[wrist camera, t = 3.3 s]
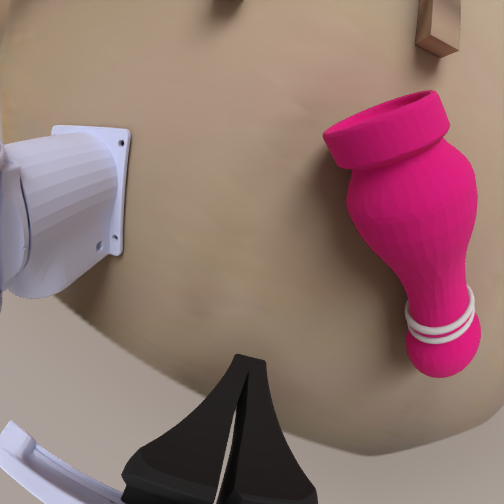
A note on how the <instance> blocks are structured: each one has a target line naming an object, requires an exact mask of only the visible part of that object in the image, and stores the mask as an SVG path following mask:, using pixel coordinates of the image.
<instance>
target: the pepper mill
mask: <svg viewBox="0 0 504 504" xmlns="http://www.w3.org/2000/svg"><path fill="white" fill-rule="evenodd" d="M449 127H450V123H449V120H448V118H447V115H446V112H445V110H444V107H443V105H442V102H441V100H440V98H439V95H438V94H437V93H436V91H432V90H429V91H422V92H417V93H413V94H409V95H406V96H402V97H399V98H396V99H393V100H390V101H387V102H384V103H382V104H379V105H376V106H374V107H371V108H369V109H367V110H364V111H362V112H359V113H357V114H355V115H353V116H351V117H349V118H347V119H345V120H343V121H341V122H339V123H337V124H335V125H333V126H332V127H330V128H329V129H327V130H326V131H325V132H324V133H323V139H324V141H325V143H326V144H327V146H328V148H329V150H330V152H331V154H332V156H333V158H334V160H335V162H336V164H337V166H339V167H341V168H344V169H352V176H351V180H350V183H349V187H348V191H347V197H346V205H347V210H348V213H349V215H350V217H351V219H352V221H353V223H354V225H355V227H356V229H357V231H358V232H359V234H360V235H361V237H362V238H363V239H364V240H365V242H366V243H367V244H368V246H369V247H370V248H371V249H372V250H373V251H374V252H375V253H376V254H377V255H378V256H379V257H380V258H381V259H382V260H383V261H384V262H385V263H386V264H387V265H388V266H389V267H390V268H391V269H392V270H393V271H394V272H395V273H396V275H397V276H398V278H399V279H400V281H401V282H402V284H403V286H404V289H405V291H406V294H407V296H408V300H407V302H406V306H405V317H406V320H407V325H408V330H407V335H406V348H407V353H408V356H409V358H410V360H411V362H412V364H413V365H414V366H415V367H416V369H418V370H419V371H420V372H421V373H423V374H425V375H427V376H430V377H436V378H444V377H449V376H452V375H455V374H456V373H458V372H460V371H462V370H463V369H464V368H465V367H466V366H467V365H468V364H469V363H470V362H471V360H472V359H473V357H474V356H475V354H476V352H477V349H478V346H479V343H480V338H481V327H480V322H479V319H478V316H477V315H476V313H475V308H474V294H473V292H472V290H471V288H470V287H469V286H468V285H467V284H466V279H465V259H466V251H467V247H468V243H469V240H470V237H471V234H472V231H473V227H474V223H475V219H476V212H477V199H478V195H477V187H476V180H475V174H474V171H473V168H472V166H471V164H470V162H469V161H468V159H467V158H466V157H465V156H464V155H463V154H462V153H461V152H460V151H458V150H457V149H456V148H455V147H453V146H452V145H450V144H449V143H448V142H447V141H446V140H445V139H444V138H443V136H444V135H445V134H446V133H447V132H448V130H449Z"/></svg>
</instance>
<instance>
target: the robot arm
mask: <svg viewBox="0 0 504 504" xmlns="http://www.w3.org/2000/svg"><path fill="white" fill-rule="evenodd" d="M130 139H131V133H130V131H129V130H128V129H121V128H109V127H95V126H74V125H55V126H54V127H53V128H52V132H51V136H47V137H41V138H35V139H30V140H25V141H19V142H15V143H10V144H6V145H3V143H2V142H1V141H0V312H1V306H2V292H3V291H5V290H6V289H8V290H9V291H10V292H12V293H13V294H15V295H16V296H19V297H23V298H28V299H39V298H45V297H48V296H51V295H54V294H56V293H59V292H60V291H62V290H64V289H65V288H67V287H68V286H69V285H70V284H72V283H73V282H74V281H75V280H76V279H78V278H79V277H80V276H81V275H83V274H84V273H85V272H86V271H88V270H89V269H90V268H91V267H93V266H94V265H95V264H96V263H98V262H99V261H100V260H102V259H103V258H104V257H105V256H107V255H108V254H112V255H115V256H118V255H120V254H121V253H122V251H123V216H124V198H125V184H126V173H127V163H128V154H129V146H130ZM122 140H123V141H124V146H122V145H121V142H122ZM115 235H116V236H117V237H118V239H116V238H115ZM236 406H237V410H236V418H235V425H234V432H233V439H232V446H231V451H230V455H229V459H228V463H227V466H226V470H225V474H224V478H223V482H222V485H221V488H220V492H219V496H218V499H217V503H216V504H318V498H317V493H316V489H315V487H314V486H313V485H312V483H311V482H310V481H309V479H308V478H307V476H306V475H305V473H304V472H303V470H302V469H301V467H300V466H299V464H298V463H297V461H296V459H295V457H294V455H293V454H292V452H291V450H290V448H289V446H288V444H287V442H286V440H285V438H284V435H283V433H282V430H281V428H280V425H279V422H278V420H277V417H276V413H275V410H274V407H273V403H272V399H271V395H270V390H269V385H268V379H267V370H266V362H265V360H261V359H257V358H253V357H249V356H245V355H241V354H236V355H235V356H234V358H233V361H232V363H231V365H230V366H229V368H228V370H227V371H226V373H225V375H224V376H223V377H222V379H221V380H220V381H219V383H218V384H217V386H216V387H215V388H214V389H213V390H212V392H211V393H210V394H209V395H208V396H207V397H206V398H205V400H204V401H203V402H202V403H201V404H200V405H199V406H198V407H197V408H196V409H195V410H194V411H193V412H191V413H190V414H189V415H188V416H187V417H186V418H185V419H183V420H182V421H181V422H180V423H179V424H177V425H176V426H175V427H173V428H172V429H170V430H169V431H167V432H166V433H165V434H163V435H162V436H160V437H158V438H157V439H155V440H153V441H152V442H150V443H148V444H147V445H145V446H143V447H141V448H140V449H139V450H138V451H137V452H136V453H135V454H134V455H133V456H132V457H131V458H130V459H129V461H128V462H127V464H126V466H125V468H124V470H123V472H122V474H121V475H122V478H123V480H124V481H125V483H126V488H125V490H124V492H120V491H118V490H116V489H114V488H112V487H109V486H107V485H105V484H103V483H101V482H99V481H97V480H96V479H94V478H92V477H90V476H88V475H86V474H84V473H83V472H81V471H79V470H77V469H76V468H74V467H72V466H70V465H69V464H67V463H66V462H64V461H62V460H60V459H59V458H58V457H56V456H55V455H53V454H51V453H50V452H49V451H47V450H46V449H44V448H43V447H41V446H40V445H39V444H37V443H36V441H35V440H34V438H33V437H31V435H29V434H28V433H27V432H26V431H25V430H23V429H22V428H21V427H19V426H18V425H17V424H16V423H14V422H13V421H12V420H10V421H9V423H8V424H7V425H6V427H5V428H4V430H3V431H2V433H1V434H0V467H1V468H2V469H3V470H4V471H5V472H6V473H8V474H9V475H10V476H11V477H12V478H13V479H15V480H16V481H17V482H18V483H20V484H21V485H22V486H23V487H24V488H25V489H27V490H28V491H29V492H31V493H32V494H33V495H34V496H36V497H37V498H38V499H40V500H41V501H42V502H44V503H45V504H213V503H214V500H215V496H216V493H217V489H218V484H219V479H220V474H221V469H222V465H223V460H224V455H225V450H226V446H227V442H228V437H229V433H230V428H231V424H232V419H233V415H234V411H235V409H236Z"/></svg>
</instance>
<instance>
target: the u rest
mask: <svg viewBox="0 0 504 504" xmlns="http://www.w3.org/2000/svg"><path fill="white" fill-rule="evenodd" d="M460 20H461V2H460V0H419V12H418V23H417V32H416V40H415V45H416V46H418V47H421V48H423V49H425V50H427V51H429V52H431V53H433V54H434V55H436V56H438V57H440V58H442V57H444V56H447V55H449V54H452V53H454V52H457V51H459V43H460Z"/></svg>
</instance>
